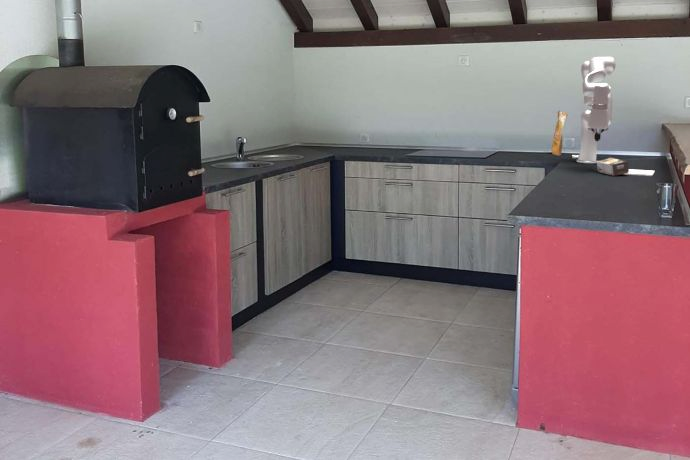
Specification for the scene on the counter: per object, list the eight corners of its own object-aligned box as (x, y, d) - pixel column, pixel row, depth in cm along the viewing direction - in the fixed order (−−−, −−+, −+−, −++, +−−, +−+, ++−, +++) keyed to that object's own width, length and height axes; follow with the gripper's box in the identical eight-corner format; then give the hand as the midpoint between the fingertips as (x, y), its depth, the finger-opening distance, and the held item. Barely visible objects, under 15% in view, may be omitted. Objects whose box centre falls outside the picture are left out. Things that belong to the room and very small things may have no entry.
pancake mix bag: (560, 152, 493) (562, 110, 487) (565, 155, 474) (568, 112, 468) (549, 152, 493) (552, 110, 487) (554, 155, 475) (557, 112, 469)
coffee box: (611, 157, 401) (628, 160, 385) (612, 168, 402) (629, 172, 387) (596, 161, 399) (612, 164, 384) (597, 172, 401) (614, 176, 385)
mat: (612, 173, 395) (613, 172, 395) (616, 170, 409) (617, 168, 409) (651, 176, 386) (651, 174, 386) (654, 172, 400) (654, 170, 400)
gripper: (584, 107, 399) (581, 140, 404) (613, 108, 393) (610, 142, 397) (586, 106, 406) (584, 139, 410) (615, 107, 399) (612, 140, 404)
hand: (597, 140), depth 404 cm, fingers closed
